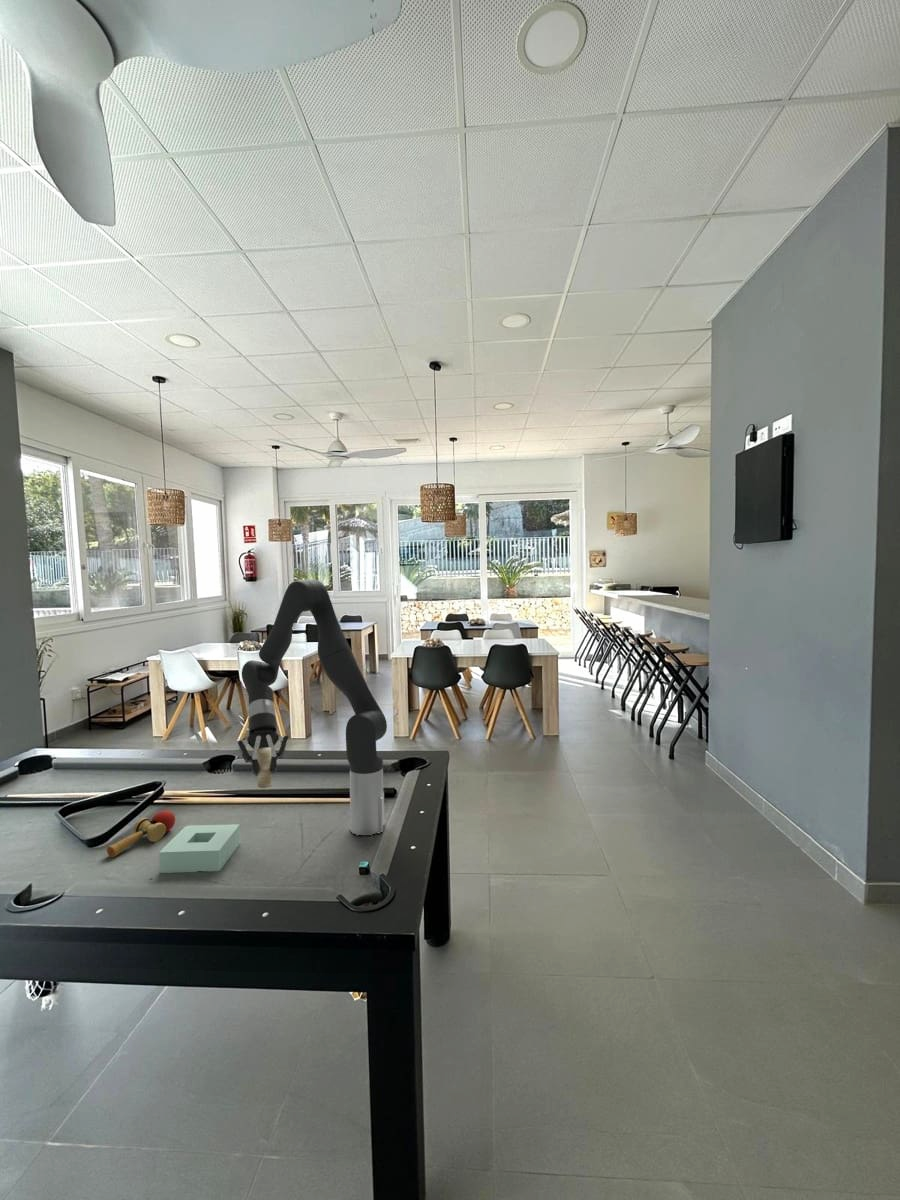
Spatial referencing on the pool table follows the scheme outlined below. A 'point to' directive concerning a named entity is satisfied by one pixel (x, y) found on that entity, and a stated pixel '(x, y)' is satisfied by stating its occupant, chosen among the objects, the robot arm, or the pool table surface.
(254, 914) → the pool table surface
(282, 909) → the pool table surface
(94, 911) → the pool table surface
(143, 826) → the kendama
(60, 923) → the pool table surface
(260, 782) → the pin
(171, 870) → the socket block
